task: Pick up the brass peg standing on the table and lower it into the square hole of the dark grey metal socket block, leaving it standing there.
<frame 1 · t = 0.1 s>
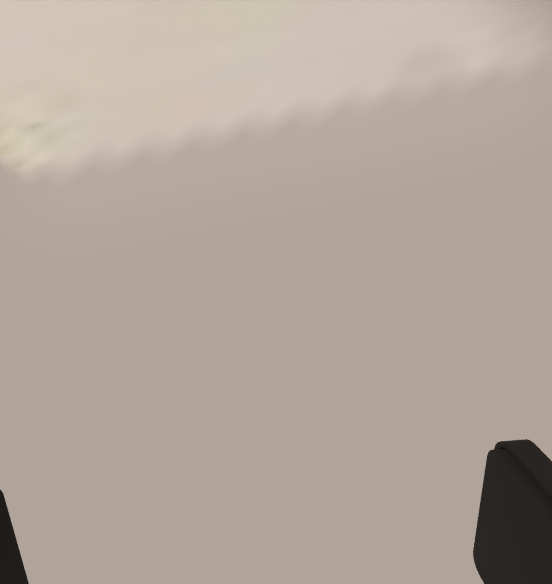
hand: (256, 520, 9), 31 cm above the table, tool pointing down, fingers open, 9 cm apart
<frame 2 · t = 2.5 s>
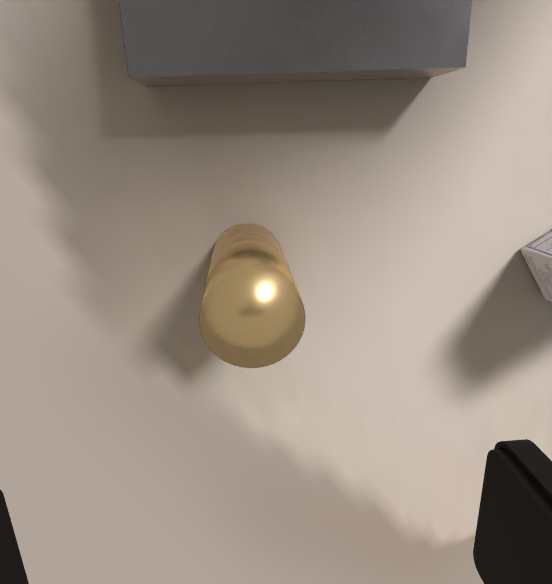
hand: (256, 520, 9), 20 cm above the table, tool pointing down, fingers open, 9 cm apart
brass peg: (247, 258, 28), on the table
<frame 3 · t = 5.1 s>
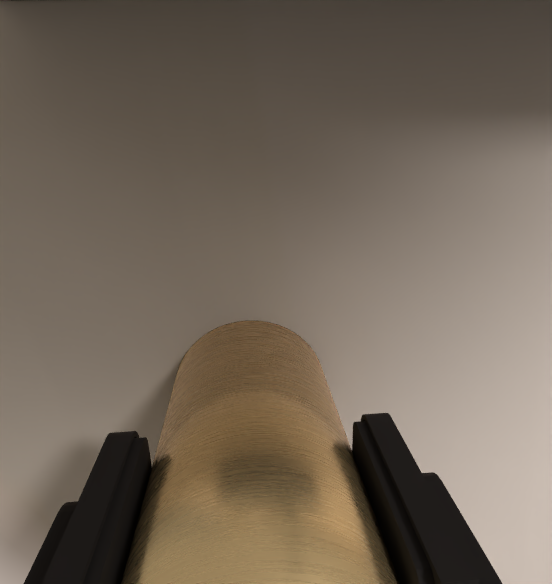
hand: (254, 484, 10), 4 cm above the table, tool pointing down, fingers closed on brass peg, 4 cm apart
brass peg: (250, 389, 13), on the table, touching gripper
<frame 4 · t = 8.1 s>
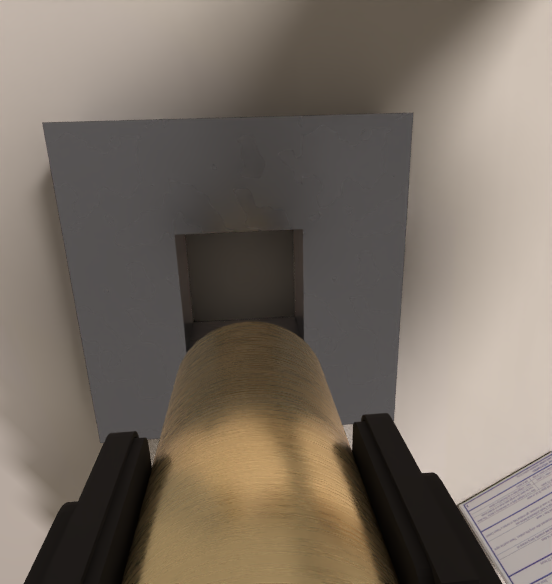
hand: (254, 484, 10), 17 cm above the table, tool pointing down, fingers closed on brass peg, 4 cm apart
brass peg: (250, 390, 13), point 13 cm above the table, touching gripper
medicine box: (513, 492, 33), on the table
socket block: (241, 270, 26), on the table
when the fingers open (5 cm above the table, at t = 11.1 s): brass peg drops 1 cm, resting in socket block.
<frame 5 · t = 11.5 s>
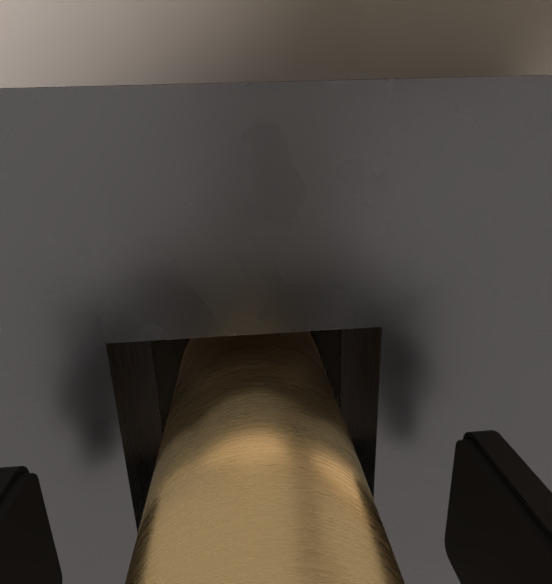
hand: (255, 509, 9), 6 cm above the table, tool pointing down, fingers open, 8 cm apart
brass peg: (251, 367, 15), resting in socket block
socket block: (249, 369, 15), on the table
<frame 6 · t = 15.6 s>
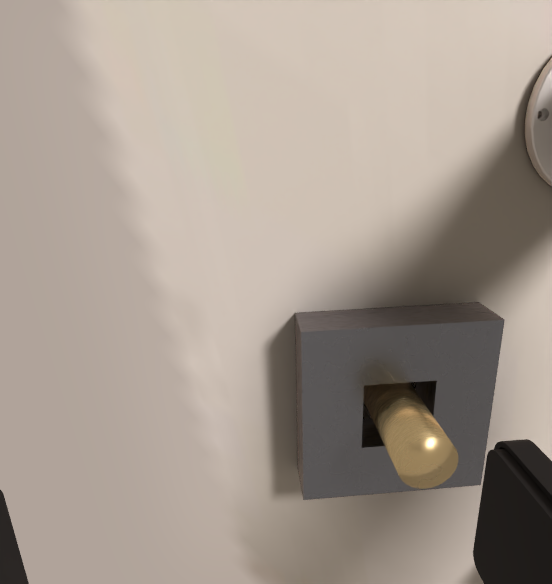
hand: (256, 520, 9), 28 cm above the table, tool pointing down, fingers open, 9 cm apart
brass peg: (384, 388, 41), resting in socket block
socket block: (383, 389, 41), on the table
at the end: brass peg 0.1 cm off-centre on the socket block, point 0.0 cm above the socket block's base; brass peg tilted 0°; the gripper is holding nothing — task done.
